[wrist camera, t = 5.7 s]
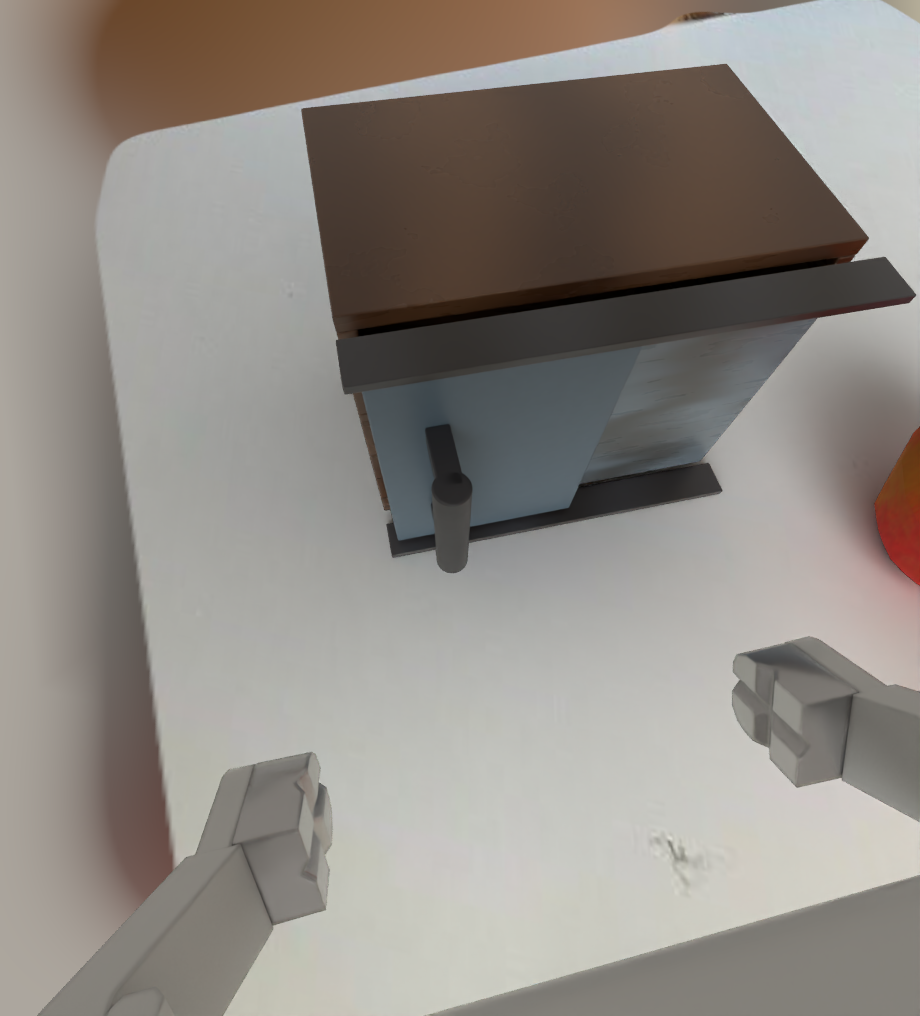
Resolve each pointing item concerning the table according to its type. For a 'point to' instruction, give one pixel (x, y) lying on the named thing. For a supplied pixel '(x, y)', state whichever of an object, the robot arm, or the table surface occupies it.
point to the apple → (902, 511)
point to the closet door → (491, 444)
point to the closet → (583, 257)
